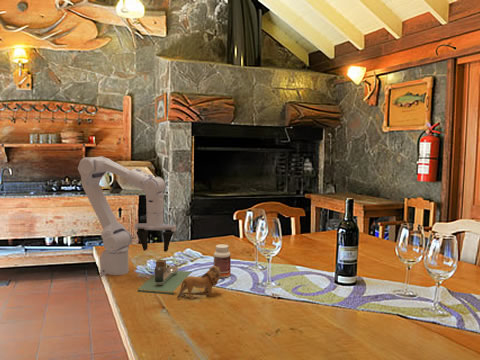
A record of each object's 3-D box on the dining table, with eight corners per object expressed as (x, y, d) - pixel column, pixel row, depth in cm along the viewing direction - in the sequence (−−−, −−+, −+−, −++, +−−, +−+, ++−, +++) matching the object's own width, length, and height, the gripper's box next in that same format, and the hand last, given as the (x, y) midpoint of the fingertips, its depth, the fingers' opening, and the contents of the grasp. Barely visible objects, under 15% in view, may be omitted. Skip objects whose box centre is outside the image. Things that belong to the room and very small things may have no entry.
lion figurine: (216, 289, 145) (216, 263, 144) (223, 295, 140) (223, 267, 140) (174, 296, 139) (174, 269, 138) (179, 302, 134) (179, 274, 133)
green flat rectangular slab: (137, 292, 142) (137, 288, 142) (161, 272, 163) (161, 269, 163) (173, 294, 140) (173, 291, 140) (192, 274, 161) (192, 271, 161)
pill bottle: (233, 276, 159) (234, 246, 158) (219, 279, 156) (219, 249, 154) (224, 271, 164) (225, 243, 163) (210, 274, 161) (210, 245, 160)
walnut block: (155, 272, 159) (155, 261, 159) (158, 269, 162) (157, 259, 162) (164, 272, 159) (164, 262, 159) (166, 270, 162) (166, 259, 162)
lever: (151, 286, 145) (151, 268, 144) (169, 269, 162) (169, 254, 162) (163, 286, 144) (163, 269, 143) (180, 270, 162) (180, 254, 161)
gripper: (130, 213, 150) (131, 252, 151) (171, 215, 147) (171, 254, 149) (138, 210, 157) (139, 247, 158) (177, 211, 154) (178, 249, 156)
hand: (155, 250), depth 154 cm, fingers open, 7 cm apart
